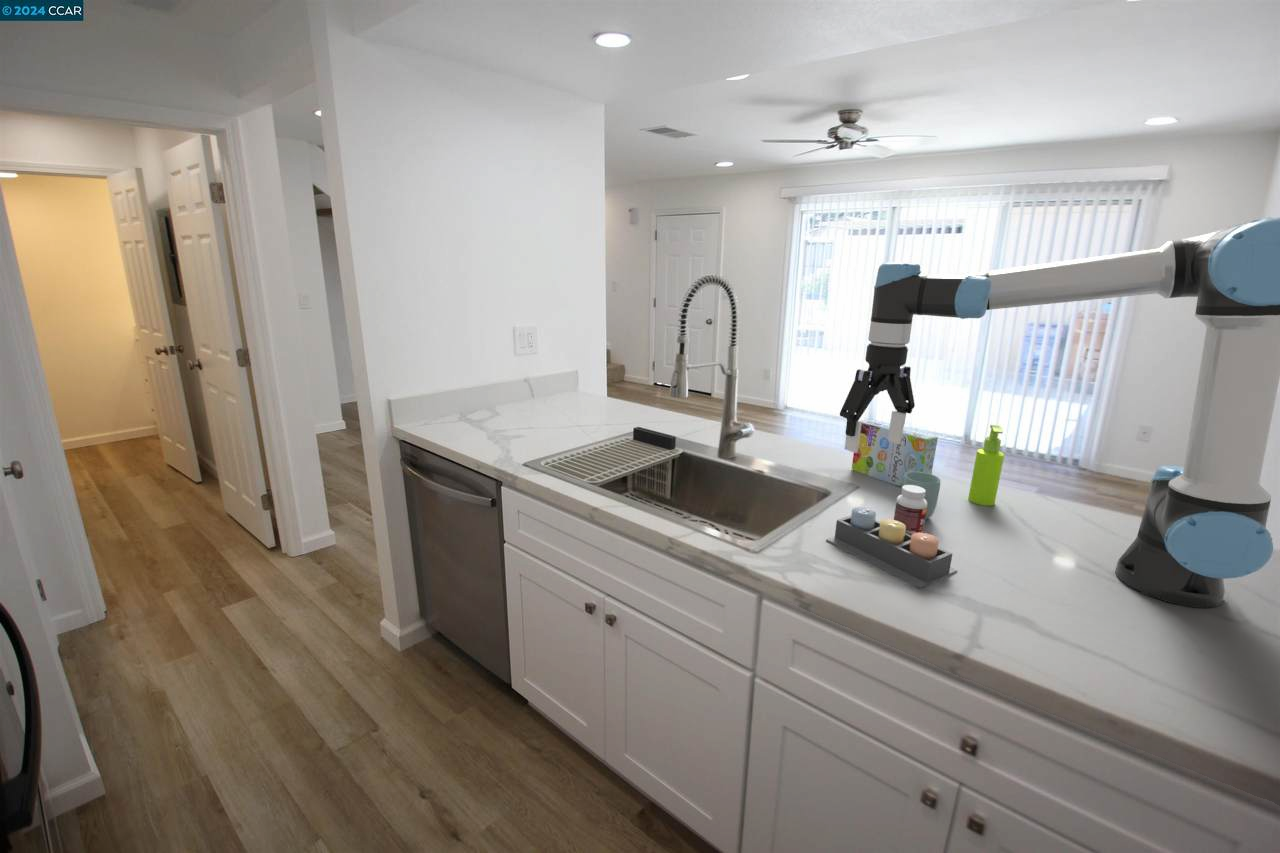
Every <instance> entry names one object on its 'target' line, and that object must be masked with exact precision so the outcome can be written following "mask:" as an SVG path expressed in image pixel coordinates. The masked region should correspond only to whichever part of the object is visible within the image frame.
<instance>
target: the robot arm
mask: <svg viewBox="0 0 1280 853" xmlns="http://www.w3.org/2000/svg"><path fill="white" fill-rule="evenodd" d="M1154 294H1157V295H1159V296H1161V297H1162V298H1164V299H1172V298H1174V299H1175V298H1191V297H1192V298H1193V297H1194V298H1197V301H1196V308H1195V313H1194V317H1196V318H1197V319H1198V320H1199V321H1200V322H1201V323H1203V325H1204V326H1205V327H1206V329H1205V333H1204V334H1205V335H1204V342H1203V347H1202V353H1201V361H1200V367H1199V373H1198V378H1197V384H1196V385H1197V386H1196V392H1195V398H1194V403H1193V409H1192V415H1191V420H1190V421H1191V422H1190V426H1189V427H1190V429H1189V432H1188V441H1187V445H1186V446H1187V447H1186V453H1185V459H1184V465H1183V466H1180V465H1179V466H1178V465H1163V466H1160V467H1157V469H1156V470H1155V472H1154V475H1153V478H1151V480H1150V482H1151V485H1150V489H1149V492H1148V495H1147V498H1146V503H1145V507H1144V510H1143V514H1142V518H1141V522H1140V524H1139V529H1138V532H1137V535H1136V538H1135V539H1134V540H1133V542H1132V543H1131V544H1130V545H1129V547H1128V548H1127V549H1126V550H1125V552H1124V553H1123V554H1122V555H1121V556H1120V557H1119V559H1118V561H1117V563H1116V567H1115V575H1116V576H1117V578H1118V579H1119V580H1120V581H1122V583H1124V584H1126V586H1127V585H1128V586H1129V587H1131V588H1133V589H1135V590H1136V591H1139V592H1140V593H1143V594H1145V595H1148V596H1150V597H1153V598H1155V599H1159V600H1161V601H1165V602H1168V603H1172V604H1176V605H1180V606H1186V607H1192V608H1202V609H1203V608H1205V609H1206V608H1207V609H1208V608H1216V607H1218V606H1219V605H1221V604H1222V602H1223V599H1224V595H1225V592H1226V590H1225V584H1224V579H1225V580H1226V579H1237V578H1242V577H1245V576H1248V575H1250V574H1253V573H1256V572H1257V571H1259V570H1261V569H1262V568H1263V567H1265V566H1266V565H1267V564H1268V563H1269V562H1270V560H1271V558H1272V555H1273V553H1274V542H1273V537H1272V536H1271V535H1272V534H1271V533H1270V531H1269V530H1268V528H1266V527H1267V522H1268V517H1269V510H1270V508H1271V501H1272V495H1271V494H1270V492H1268V491H1267V490H1266V489H1265V488H1264V487H1263V486H1261V484H1260V481H1261V476H1262V471H1263V466H1264V465H1263V464H1264V460H1265V456H1266V455H1265V454H1266V451H1267V450H1266V449H1267V444H1268V440H1269V434H1270V429H1271V424H1272V418H1273V413H1274V408H1275V402H1276V398H1277V394H1278V387H1279V384H1280V217H1267V218H1262V219H1257V220H1256V219H1253V220H1251V221H1248V222H1244V223H1241V224H1240V223H1239V224H1236V225H1232V226H1228V227H1225V228H1222V229H1219V230H1216V231H1213V232H1209V233H1206V234H1205V233H1204V234H1201V235H1197V236H1192V237H1187V238H1182V239H1175V240H1168V241H1166V242H1165V243H1164V244H1163V245H1162V246H1161V247H1158V248H1153V249H1146V250H1138V251H1130V252H1122V253H1116V254H1110V255H1099V256H1094V257H1085V258H1077V259H1072V260H1071V259H1070V260H1063V261H1055V262H1048V263H1040V264H1031V265H1026V266H1025V265H1024V266H1018V267H1010V268H1009V267H1008V268H1003V269H996V270H990V271H989V270H988V271H980V272H973V273H971V272H970V273H961V274H955V275H954V274H925V273H922V271H921V265H920V264H919V263H905V262H904V263H903V262H884V263H882V264H880V265H879V266H878V268H877V275H876V279H875V284H874V286H873V300H872V306H871V307H872V308H871V315H870V325H869V332H868V339H867V340H868V342H870V343H868V344H867V345H866V353H865V358H864V359H865V362H866V363H867V364H868V369H867V370H864V369H860V368H859V369H856V372H855V377H854V381H853V383H852V385H851V388H850V390H849V392H848V394H847V396H846V399H845V400H844V403H843V405H842V407H841V409H840V412H839V416H840V417H842V418H844V419H846V425H845V441H844V442H845V443H844V450H846V451H849V452H851V453H853V454H854V453H857V452H858V447H859V440H860V432H861V425H862V421H863V420H860V419H861V417H862V416H863V415H864V413H865V411H866V410H867V408H868V407H869V405H870V403H871V402H872V400H873V399H874V397H875V396H876V395H879V394H880V392H884V391H886V392H887V394H888V396H889V398H890V400H891V403H892V406H893V407H894V410H892V411H891V416H890V421H889V425H890V428H889V435H888V440H889V441H892V442H895V443H898V444H900V443H901V440H902V434H903V428H904V426H905V422H906V418H907V417H906V415H907V414H912V412H913V409H914V408H915V405H916V404H915V398H914V393H913V388H912V387H913V386H912V382H911V372H912V369H911V366H907V365H906V363H907V357H908V351H909V347H908V346H907V345H908V344H909V343H910V341H911V331H912V326H913V317H914V315H917V316H930V317H931V316H933V317H942V318H943V317H944V318H945V317H946V318H956V319H957V318H958V319H961V320H964V319H981V318H983V317H984V316H985V315H986V312H987V311H989V310H999V309H1010V308H1011V309H1012V308H1019V307H1020V308H1021V307H1030V306H1031V307H1033V306H1041V305H1043V306H1044V305H1052V304H1061V303H1062V304H1063V303H1072V302H1073V303H1074V302H1083V301H1092V300H1103V299H1104V300H1105V299H1113V298H1114V299H1115V298H1123V297H1132V296H1143V295H1154Z"/></svg>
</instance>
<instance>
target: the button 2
mask: <svg viewBox="0 0 1280 853" xmlns="http://www.w3.org/2000/svg"><path fill="white" fill-rule="evenodd" d="M879 522H880V528H879V535H878V537H879V538H881V539H883V540H886V541H888V542H890V543H892V544H894V545H898V544H901V543H903V542H904V536H905V530H906V526H905V524H903V523H902V522H899V521H896V520H894V519H888V518H887V519H882V520H880V521H879Z"/></svg>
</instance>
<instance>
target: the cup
mask: <svg viewBox="0 0 1280 853" xmlns="http://www.w3.org/2000/svg"><path fill="white" fill-rule="evenodd" d="M904 485H915V486H919V487H922V488H924V489H925V490H926V493H925V497H924V499H925V500H926V501H927V510H926V516H925V520H928V519H930V518H931V517H932V516H933V514H934V513H935V511H936V507H937V504H938V500H939V494H940V489H941V479H940V477H939V476H936V475H934V474H933V473H932V474H929V473H924V472H907V473H905V475H904V479H903V485H902V487H903V486H904ZM902 487H901V488H902ZM900 495H902V492H901V494H900Z"/></svg>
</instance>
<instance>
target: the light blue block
mask: <svg viewBox="0 0 1280 853" xmlns="http://www.w3.org/2000/svg"><path fill="white" fill-rule="evenodd" d="M850 516H851V521H850V524H851V525H853V526H855V527H857V528H860V529H862V530H864V531H869V530H871V529H874V524H875V520H876V517H877V513H876V511H874V510H873V509H870V508H866V507H862V506H861V507H853V508H852V509H851V515H850Z"/></svg>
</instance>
